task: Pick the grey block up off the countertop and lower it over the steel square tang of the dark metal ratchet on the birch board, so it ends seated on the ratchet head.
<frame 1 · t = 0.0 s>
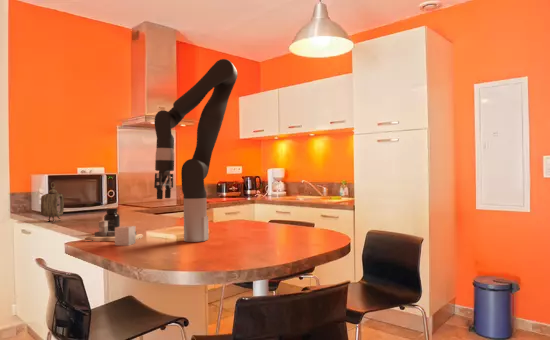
hand: (163, 198, 163), 17 cm above the counter, tool pointing down, fingers open, 8 cm apart
ratchet board: (114, 239, 167), on the counter
grey block: (125, 244, 154), on the counter
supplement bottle: (112, 234, 186), on the counter
tabletop clock: (52, 222, 248), on the counter
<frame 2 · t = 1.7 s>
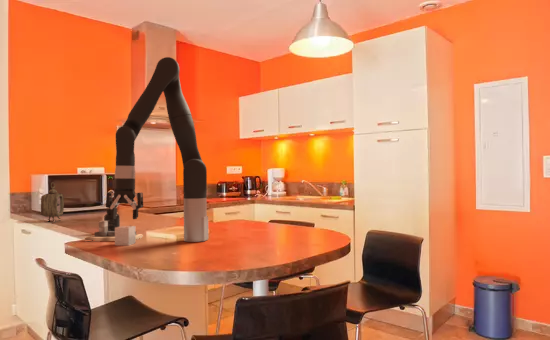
hand: (124, 219, 154), 10 cm above the counter, tool pointing down, fingers open, 8 cm apart
nothing on the counter moved.
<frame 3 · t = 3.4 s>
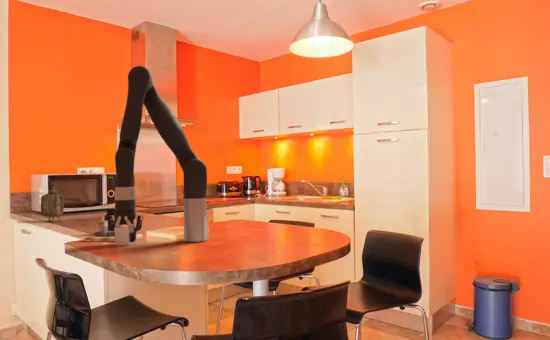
hand: (125, 241, 154), 1 cm above the counter, tool pointing down, fingers closed on grey block, 5 cm apart
grey block: (125, 244, 154), on the counter, touching gripper
everything else where it was.
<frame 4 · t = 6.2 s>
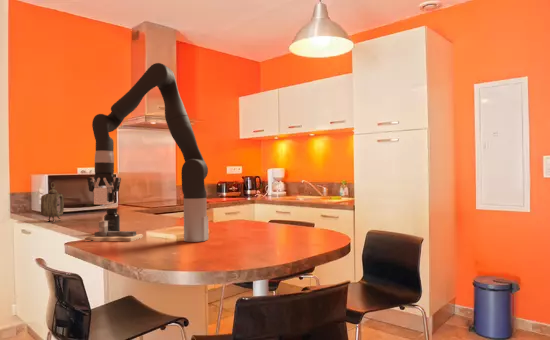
hand: (103, 201, 166), 16 cm above the counter, tool pointing down, fingers closed on grey block, 5 cm apart
grey block: (103, 204, 166), point 15 cm above the counter, touching gripper
everything else where it was.
when the fingers open (5 cm above the counter, at t = 9.2 s): grey block stays where it is, resting on ratchet board.
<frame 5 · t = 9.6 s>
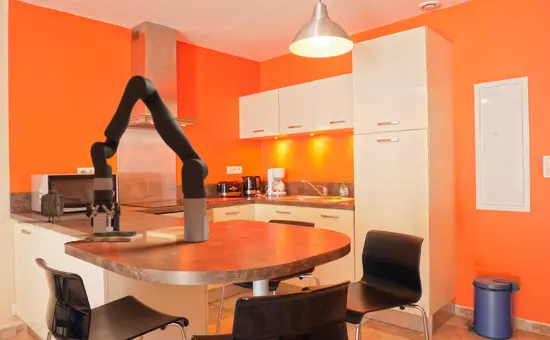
hand: (103, 226, 168), 5 cm above the counter, tool pointing down, fingers open, 8 cm apart
grey block: (103, 231, 167), point 3 cm above the counter, touching ratchet board
everything else where it was.
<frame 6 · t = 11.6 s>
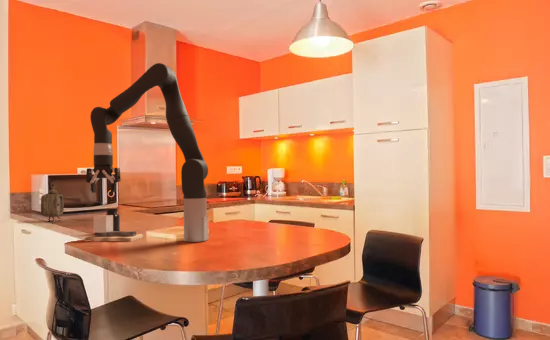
hand: (103, 192, 168), 20 cm above the counter, tool pointing down, fingers open, 8 cm apart
nothing on the counter moved.
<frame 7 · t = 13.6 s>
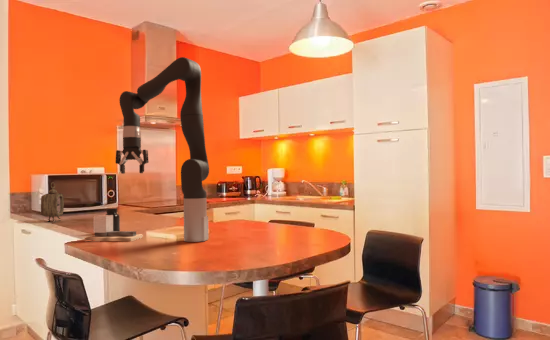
hand: (132, 173, 175), 28 cm above the counter, tool pointing down, fingers open, 8 cm apart
nothing on the counter moved.
at the end: grey block 0.1 cm from the target spot on the ratchet board, point 3.3 cm above the ratchet board's base; grey block tilted 0°; the gripper is holding nothing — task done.
